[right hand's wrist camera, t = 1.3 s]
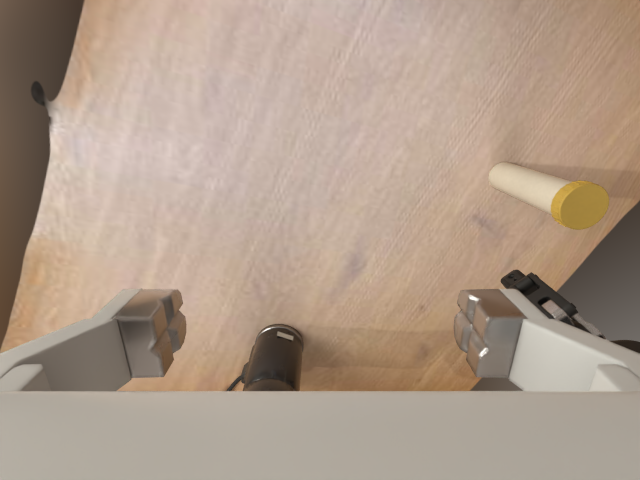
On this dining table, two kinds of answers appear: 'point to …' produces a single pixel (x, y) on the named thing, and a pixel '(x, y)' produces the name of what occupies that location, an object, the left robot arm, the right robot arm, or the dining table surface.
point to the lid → (579, 204)
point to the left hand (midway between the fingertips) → (528, 301)
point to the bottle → (526, 184)
